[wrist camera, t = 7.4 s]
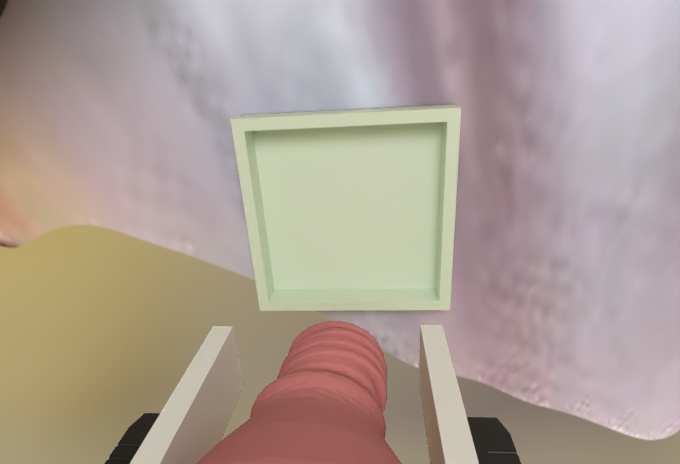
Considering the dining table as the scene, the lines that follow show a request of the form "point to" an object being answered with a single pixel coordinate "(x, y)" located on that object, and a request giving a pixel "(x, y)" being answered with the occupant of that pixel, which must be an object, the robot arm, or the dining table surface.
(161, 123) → the dining table surface
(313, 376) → the light bulb
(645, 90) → the dining table surface
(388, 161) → the tray
